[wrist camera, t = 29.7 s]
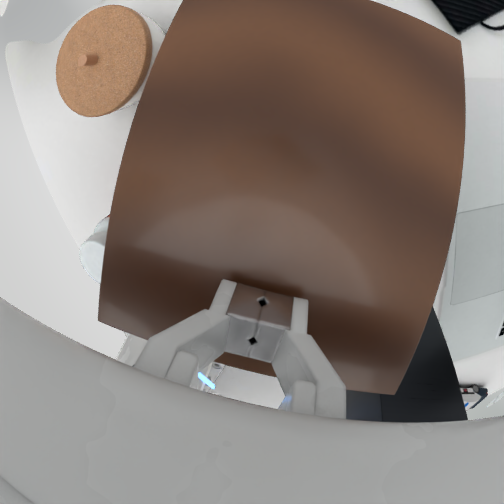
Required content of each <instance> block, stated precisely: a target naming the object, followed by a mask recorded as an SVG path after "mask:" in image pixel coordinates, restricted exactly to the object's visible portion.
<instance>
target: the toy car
mask: <svg viewBox="0 0 504 504" xmlns="http://www.w3.org/2000/svg"><path fill="white" fill-rule="evenodd" d="M460 389H461V393H462V397H463V401H464V405H465V409H466V411H467V410H468V409H471V408H474V407H475V406H476V405H477V404H478V403H480V402H481V401H482V400H483V399H484V398H485V397H487V396H488V393H487V392H488V390H487V389H486V388H479V387H478V386H477V385H475V384H474V385H472V386H471V387H470V388H460Z"/></svg>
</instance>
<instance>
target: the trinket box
mask: <svg viewBox="0 0 504 504" xmlns="http://www.w3.org/2000/svg"><path fill="white" fill-rule="evenodd" d="M164 38H165V35H164V33H163V31H162V30H161V28H160V27H159V26H158V25H157V24H156V23H155V22H154V21H153V20H152V19H150V18H148V17H147V16H145V15H143V14H141V13H139V12H136V11H134V10H132V9H130V8H127V7H124V6H120V5H107V6H103V7H100V8H97V9H95V10H93V11H91V12H89V13H88V14H86V15H85V16H83V17H82V18H81V19H80V20H79V21H78V22H77V23H76V24H75V25H74V26H73V27H72V28H71V30H70V31H69V33H68V34H67V36H66V38H65V39H64V41H63V43H62V46H61V48H60V51H59V55H58V59H57V64H56V81H57V86H58V89H59V92H60V95H61V97H62V99H63V100H64V102H65V103H66V105H67V106H68V107H69V108H70V109H71V110H73V111H74V112H76V113H77V114H79V115H82V116H86V117H98V116H102V115H106V114H110V113H112V112H114V111H117V110H121V109H123V108H126V107H128V106H130V105H133V104H135V103H136V102H138V101H140V98H141V95H142V92H143V89H144V87H145V84H146V81H147V78H148V76H149V73H150V71H151V68H152V66H153V63H154V61H155V58H156V56H157V54H158V51H159V49H160V47H161V44H162V42H163V40H164Z"/></svg>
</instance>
